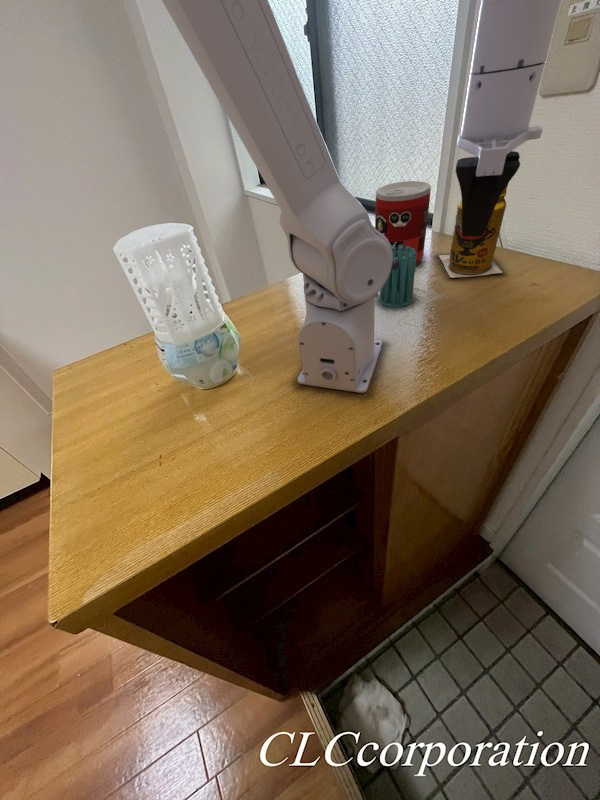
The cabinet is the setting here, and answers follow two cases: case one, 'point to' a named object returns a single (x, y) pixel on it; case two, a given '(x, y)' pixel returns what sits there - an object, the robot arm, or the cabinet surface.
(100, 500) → the cabinet surface
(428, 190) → the canned food
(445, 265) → the condiment
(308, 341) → the robot arm
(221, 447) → the cabinet surface
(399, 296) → the pencil holder
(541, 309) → the cabinet surface
